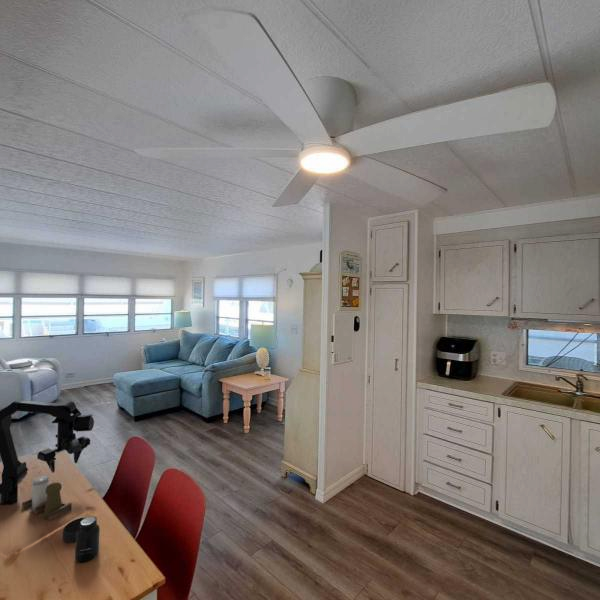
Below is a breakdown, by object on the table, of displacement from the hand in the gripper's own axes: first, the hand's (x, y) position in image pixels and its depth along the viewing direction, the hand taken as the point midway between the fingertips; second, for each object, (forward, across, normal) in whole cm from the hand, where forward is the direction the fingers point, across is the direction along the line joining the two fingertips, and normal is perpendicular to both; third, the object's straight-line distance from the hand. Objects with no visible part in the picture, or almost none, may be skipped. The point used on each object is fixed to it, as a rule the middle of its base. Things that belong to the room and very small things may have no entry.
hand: (64, 467), depth 144 cm
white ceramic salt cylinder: (+12, -9, +1) cm, 15 cm away
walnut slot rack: (+13, -9, -4) cm, 16 cm away
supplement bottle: (+13, -16, -42) cm, 47 cm away
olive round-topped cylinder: (+12, -8, -8) cm, 17 cm away
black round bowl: (+13, -11, -29) cm, 34 cm away
